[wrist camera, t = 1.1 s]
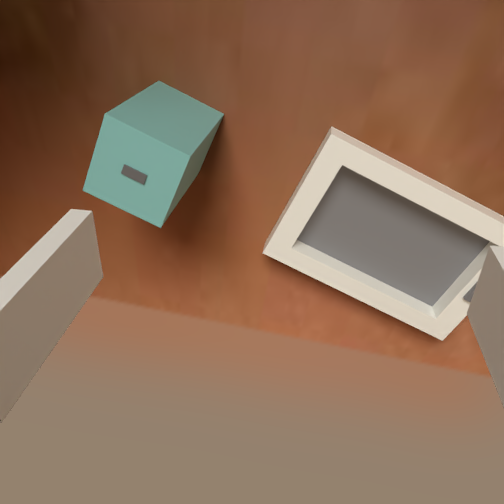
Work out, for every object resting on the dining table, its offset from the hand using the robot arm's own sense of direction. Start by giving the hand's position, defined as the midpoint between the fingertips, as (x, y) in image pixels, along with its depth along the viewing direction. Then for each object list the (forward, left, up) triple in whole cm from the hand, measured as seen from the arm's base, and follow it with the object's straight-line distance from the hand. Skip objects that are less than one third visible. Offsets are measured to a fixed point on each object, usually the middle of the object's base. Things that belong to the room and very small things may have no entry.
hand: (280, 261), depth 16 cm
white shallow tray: (+10, -5, -19) cm, 22 cm away
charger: (-8, -5, -19) cm, 21 cm away
